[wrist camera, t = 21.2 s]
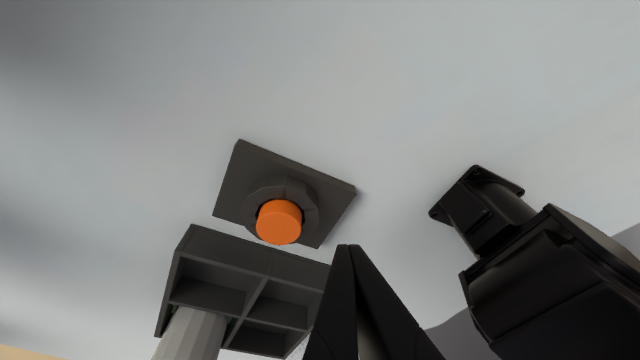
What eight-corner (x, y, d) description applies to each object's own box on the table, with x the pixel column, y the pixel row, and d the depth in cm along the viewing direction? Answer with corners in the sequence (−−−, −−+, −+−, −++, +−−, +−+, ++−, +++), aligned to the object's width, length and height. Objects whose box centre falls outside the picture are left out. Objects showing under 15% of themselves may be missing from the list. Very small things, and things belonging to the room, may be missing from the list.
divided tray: (341, 268, 29) (344, 296, 26) (287, 333, 37) (284, 359, 34) (191, 223, 24) (174, 250, 21) (168, 309, 32) (153, 337, 30)
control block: (354, 185, 22) (360, 206, 20) (317, 240, 26) (317, 263, 23) (239, 138, 19) (228, 154, 17) (216, 207, 23) (204, 229, 20)
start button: (308, 207, 20) (308, 221, 18) (292, 235, 22) (290, 250, 20) (268, 192, 19) (264, 206, 18) (254, 222, 21) (249, 237, 19)
